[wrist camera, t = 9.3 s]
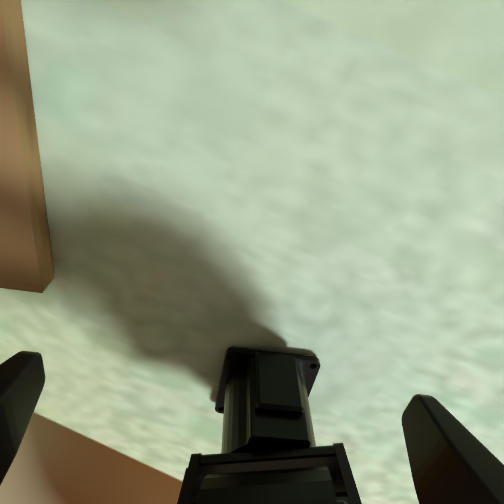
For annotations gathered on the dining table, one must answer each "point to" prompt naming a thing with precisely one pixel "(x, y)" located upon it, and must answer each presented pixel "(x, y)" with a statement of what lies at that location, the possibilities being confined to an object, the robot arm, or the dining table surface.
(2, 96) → the shelf
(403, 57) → the dining table surface
